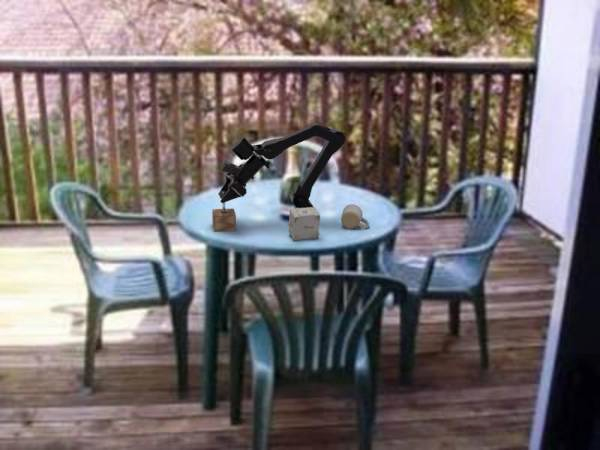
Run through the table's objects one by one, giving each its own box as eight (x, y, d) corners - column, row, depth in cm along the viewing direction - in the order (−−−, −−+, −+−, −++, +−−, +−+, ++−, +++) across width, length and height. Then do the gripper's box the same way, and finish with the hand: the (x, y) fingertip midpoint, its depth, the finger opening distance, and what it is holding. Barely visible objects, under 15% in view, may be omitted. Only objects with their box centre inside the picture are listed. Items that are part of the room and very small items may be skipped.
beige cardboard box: (293, 242, 265) (294, 214, 261) (287, 234, 272) (288, 207, 269) (320, 240, 267) (321, 212, 264) (313, 232, 275) (314, 205, 272)
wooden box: (233, 223, 283) (233, 208, 281) (236, 230, 275) (235, 215, 273) (212, 224, 281) (212, 209, 279) (214, 231, 274) (213, 215, 272)
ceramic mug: (340, 229, 279) (341, 209, 277) (342, 222, 287) (343, 203, 284) (368, 231, 278) (369, 211, 275) (369, 224, 286) (371, 205, 283)
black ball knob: (231, 212, 280) (231, 188, 277) (232, 217, 275) (232, 193, 272) (215, 212, 279) (214, 188, 276) (216, 217, 273) (216, 193, 271)
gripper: (231, 147, 279) (202, 177, 280) (237, 159, 261) (205, 191, 263) (252, 168, 283) (223, 197, 284) (259, 181, 265) (228, 211, 267)
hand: (220, 198), depth 275 cm, fingers open, 9 cm apart
